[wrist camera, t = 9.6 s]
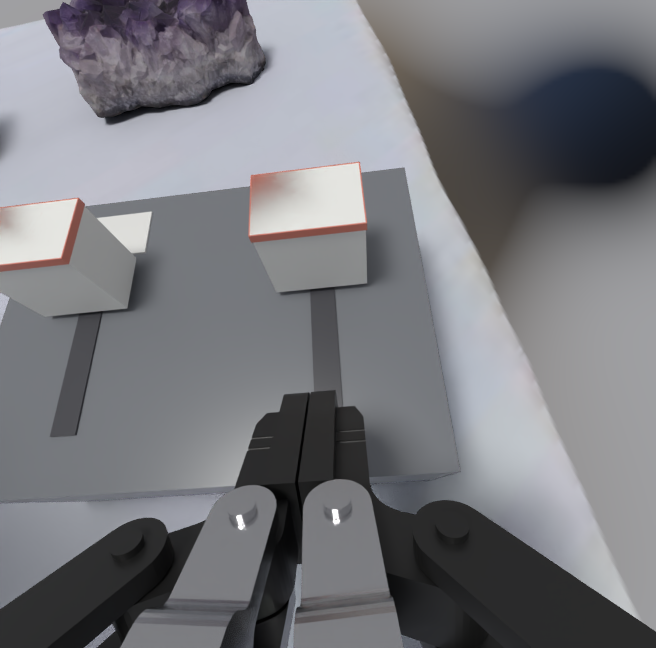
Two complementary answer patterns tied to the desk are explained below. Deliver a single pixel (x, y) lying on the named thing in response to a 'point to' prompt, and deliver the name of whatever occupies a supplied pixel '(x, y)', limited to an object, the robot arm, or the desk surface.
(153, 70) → the geode
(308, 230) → the switch
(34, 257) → the switch
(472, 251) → the desk surface
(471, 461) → the desk surface
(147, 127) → the desk surface
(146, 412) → the power box
